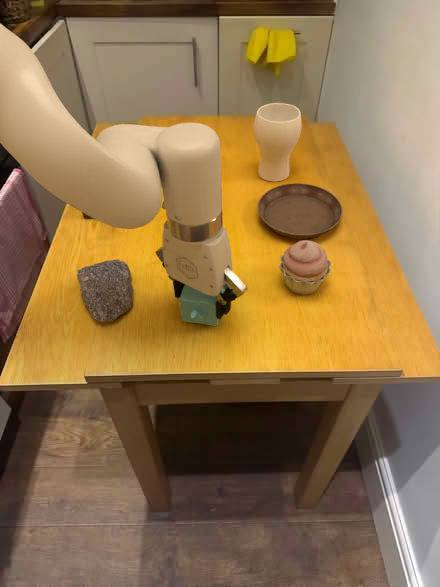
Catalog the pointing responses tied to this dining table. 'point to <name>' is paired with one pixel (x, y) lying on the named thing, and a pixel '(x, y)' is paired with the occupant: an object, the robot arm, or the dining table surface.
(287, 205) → the plant saucer
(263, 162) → the cup
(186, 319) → the teapot
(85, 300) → the rock
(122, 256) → the dining table surface
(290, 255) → the cupcake
